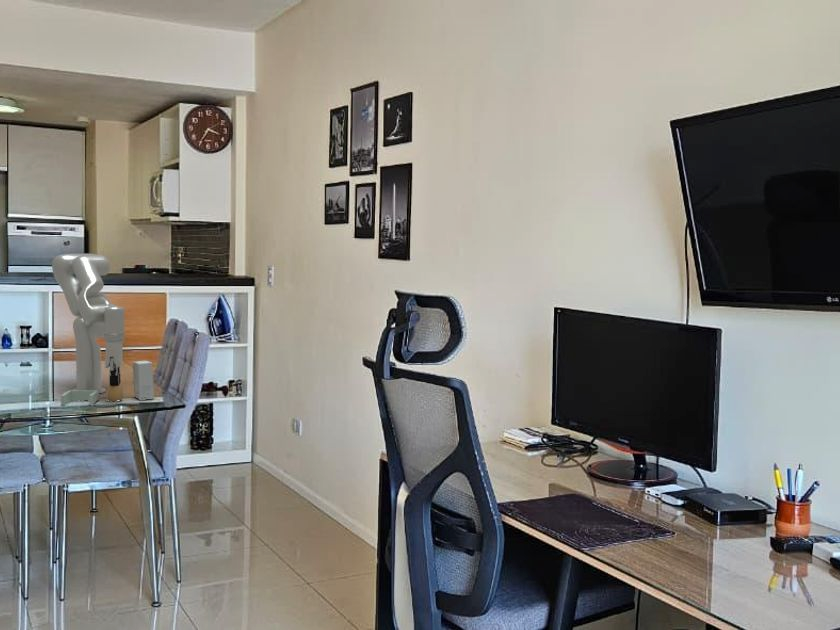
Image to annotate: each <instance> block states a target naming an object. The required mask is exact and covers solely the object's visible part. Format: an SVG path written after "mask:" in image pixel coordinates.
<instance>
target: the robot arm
mask: <svg viewBox="0 0 840 630" xmlns="http://www.w3.org/2000/svg"><path fill="white" fill-rule="evenodd" d="M51 263H52V264H51V265H52V266H51V267H52V268H51V269H52V273H53V278H54V279H55V280H56V282H57V284H58V285H59V287H60V289H62V291H63V294H64V298H65V301H66V303H67V305H68V309H69V310H70V313H71V314H72V315H73V316H74V317H76V318H75V319H74V321H73V322H72V331H73V335H74V341H75V361H76V364H75V366H76V368H75V369H76V388H74V389H72V390H99V394H103V393H105V392H106V391H107V390H106V388H105V387H103V386H102V349H101V346H100V344H98V342H97V340H96V339H99V338H103V340H104V341H103V342H104V343H106V344H105V351H104V352H105V353H104V354H105V358H104V359H105V360H104V367H105V368H109V385H110V386H118V375H117V372H119V384H121V366H122V365H123V357H124V356H123V343H125V339H126V338H125V336H126V335H125V333H126V332H125V309H124V307H123V306H118V305H116V304H113V303H111V301H110V299H109V297H107V295H106V294H104V293H100V292H101V291H102V290H103V289H104V281H103V279H102V277H101V276H106V275H108V274H109V273H110V269H111V265H110V261H109V259H108V258H107V257H106V256H105V255H103V254H98V253H97V254H96V253H64V254H60V255H59V254H58V255H57V256H55V257H54V258H53V259H52V262H51ZM74 275H75V276H74Z"/></svg>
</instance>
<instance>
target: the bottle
mask: <svg viewBox="0 0 840 630" xmlns="http://www.w3.org/2000/svg"><path fill="white" fill-rule="evenodd" d="M117 375H118V386H110V384H108V385H107V401H108V400H109V401H117V400H122V399H123V400H124V395H123V394H124V391H123V390H124V388H123V387H124V386H123V384H121V383H120V384H119V372H117Z"/></svg>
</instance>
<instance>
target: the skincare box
mask: <svg viewBox="0 0 840 630" xmlns="http://www.w3.org/2000/svg"><path fill="white" fill-rule="evenodd" d="M153 369H154V368H153V362H152V361H148V360H139V361H138V360H137V361H132V372H133V373H132V374H133V394H134V395H133V398H134V397H136V398H138V399H139V401H147V400H146V399H153V400H155V391H154V389H155V388H154V370H153ZM136 398H135V399H136ZM138 399H137V400H138Z"/></svg>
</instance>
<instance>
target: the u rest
mask: <svg viewBox="0 0 840 630" xmlns="http://www.w3.org/2000/svg"><path fill="white" fill-rule="evenodd" d="M98 399H99V400H100V393H99V390H73V389H72V390H66V391H65V392H64V393H63V394H61V395H60V403H61V405H60V406H61V407H65V406H67V405H68V404H69V403H71V402H78V401H77V400H89V401H88V405H91V406H90V407H93V406H94V405H95V404H96V403H97V402H96V401H97V400H98ZM70 401H71V402H70ZM95 402H96V403H95ZM67 403H68V404H67ZM94 403H95V404H94ZM66 404H67V405H66ZM93 404H94V405H93Z"/></svg>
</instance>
